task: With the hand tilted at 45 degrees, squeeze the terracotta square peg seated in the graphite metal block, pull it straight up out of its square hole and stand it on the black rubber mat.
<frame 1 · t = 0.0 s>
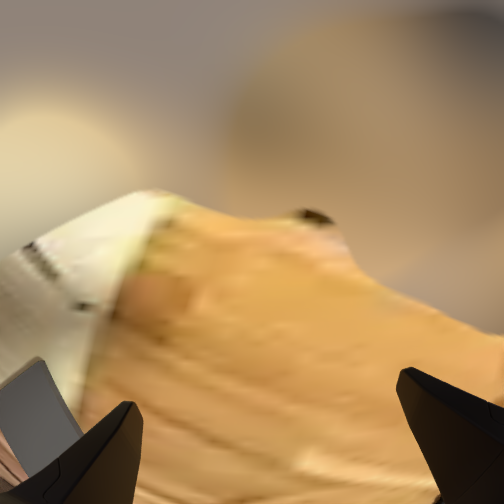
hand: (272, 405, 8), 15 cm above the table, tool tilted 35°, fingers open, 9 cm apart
mat: (40, 435, 19), on the table
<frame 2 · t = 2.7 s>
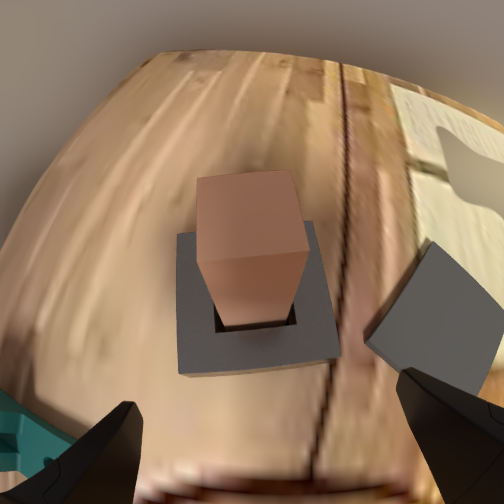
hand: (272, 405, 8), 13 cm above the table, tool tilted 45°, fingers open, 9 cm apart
socket block: (252, 306, 24), on the table
bracket: (50, 453, 16), on the table
mat: (448, 331, 22), on the table
peg: (251, 274, 18), in the socket block
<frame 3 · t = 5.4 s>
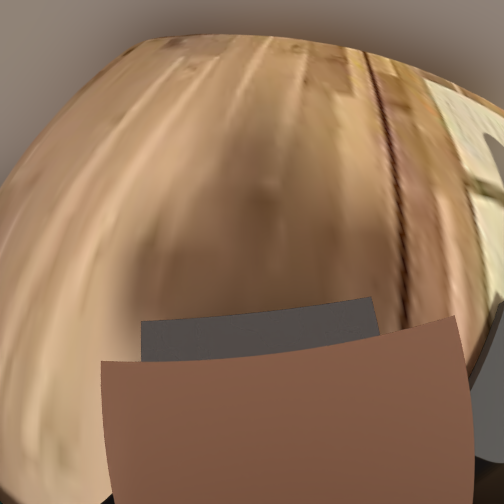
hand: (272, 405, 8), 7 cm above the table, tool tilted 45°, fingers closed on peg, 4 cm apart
socket block: (269, 425, 13), on the table
peg: (276, 444, 8), in the socket block, touching gripper
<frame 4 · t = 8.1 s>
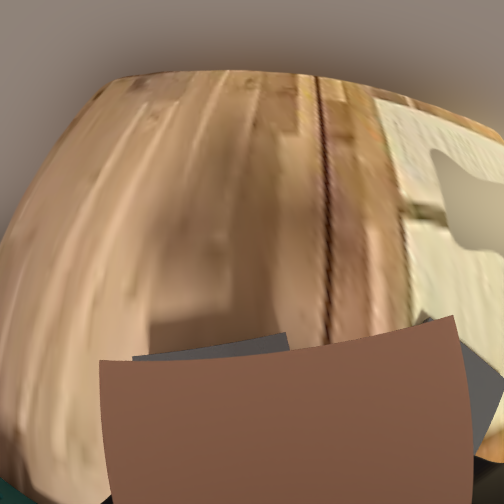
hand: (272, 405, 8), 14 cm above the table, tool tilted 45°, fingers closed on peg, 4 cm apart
socket block: (225, 420, 19), on the table
mat: (440, 414, 18), on the table
peg: (276, 444, 8), point 13 cm above the table, touching gripper
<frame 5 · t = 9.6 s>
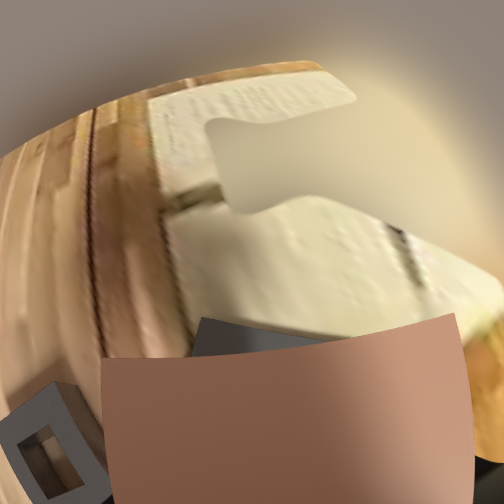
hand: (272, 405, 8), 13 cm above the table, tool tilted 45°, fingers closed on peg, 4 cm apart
socket block: (69, 460, 16), on the table
mat: (266, 415, 19), on the table
peg: (276, 443, 8), point 13 cm above the table, touching gripper
when the fingers open (9 cm above the table, at t = 10.8 s): peg drops 1 cm, resting on mat.
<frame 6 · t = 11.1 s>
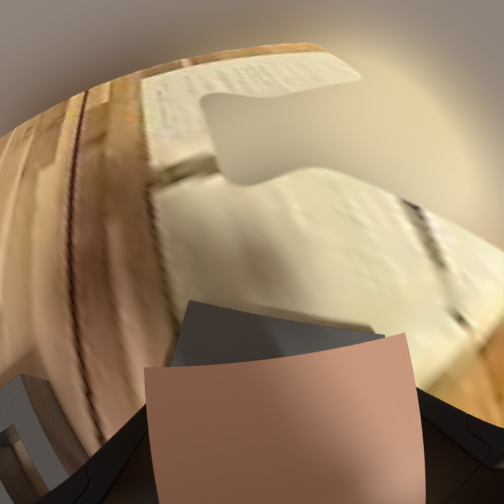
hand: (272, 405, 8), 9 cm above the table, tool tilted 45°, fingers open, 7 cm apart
socket block: (41, 465, 12), on the table
mat: (267, 420, 15), on the table
peg: (274, 435, 9), on the mat, point 8 cm above the table
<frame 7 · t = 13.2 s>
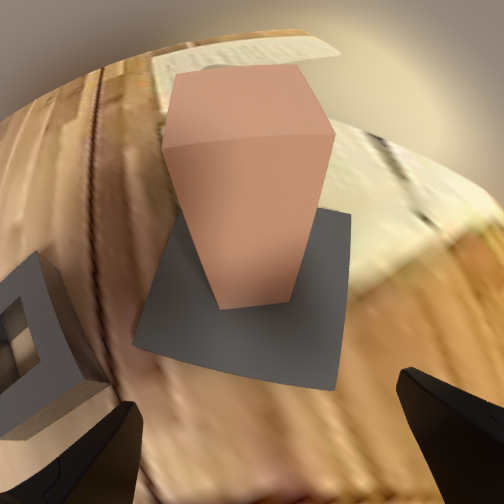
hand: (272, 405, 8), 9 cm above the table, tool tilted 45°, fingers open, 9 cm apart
socket block: (35, 355, 17), on the table
mat: (251, 281, 20), on the table
peg: (247, 217, 13), on the mat, point 8 cm above the table
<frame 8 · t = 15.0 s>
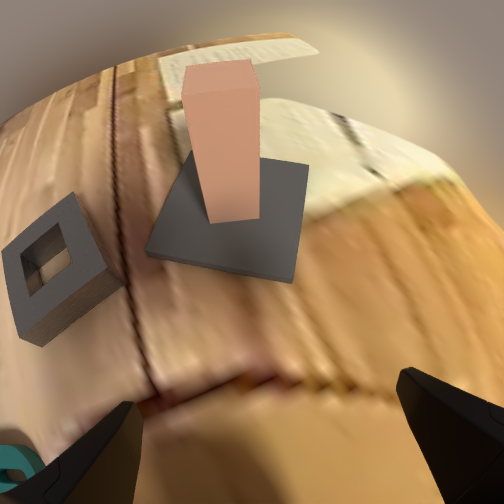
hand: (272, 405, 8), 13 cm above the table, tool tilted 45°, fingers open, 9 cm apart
socket block: (62, 274, 24), on the table
bracket: (3, 473, 13), on the table
mat: (233, 208, 27), on the table
peg: (226, 149, 21), on the mat, point 8 cm above the table
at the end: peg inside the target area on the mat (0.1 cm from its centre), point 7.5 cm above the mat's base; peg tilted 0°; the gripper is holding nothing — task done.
